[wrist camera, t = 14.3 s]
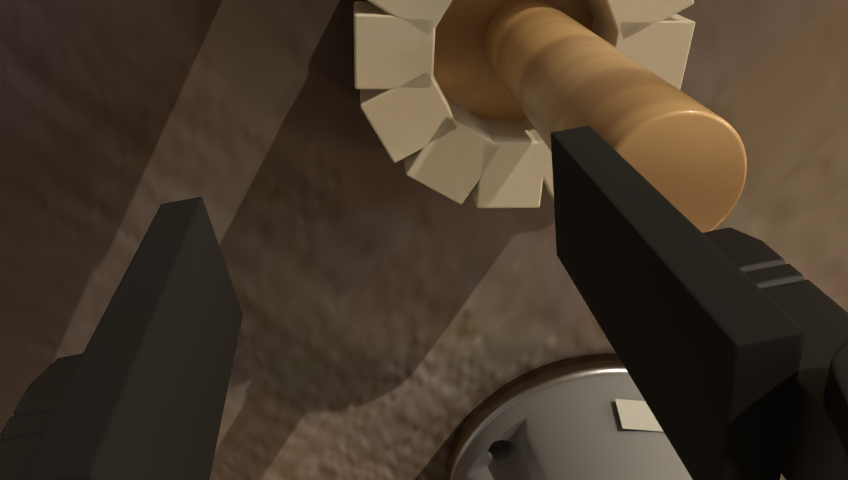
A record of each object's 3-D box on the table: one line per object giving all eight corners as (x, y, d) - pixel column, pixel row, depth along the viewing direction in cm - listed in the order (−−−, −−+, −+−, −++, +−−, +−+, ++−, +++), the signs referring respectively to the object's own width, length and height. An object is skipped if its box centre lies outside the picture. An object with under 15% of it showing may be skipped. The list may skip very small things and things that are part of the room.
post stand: (628, 122, 28) (858, 332, 15) (416, 158, 28) (467, 398, 15) (631, -120, 23) (962, -114, 11) (379, -79, 23) (406, -23, 10)
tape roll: (629, 180, 27) (653, 208, 25) (356, 180, 26) (356, 209, 24) (692, -131, 22) (731, -132, 20) (352, -147, 21) (351, -150, 18)
